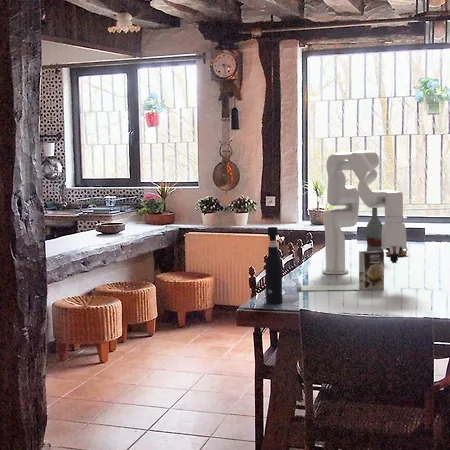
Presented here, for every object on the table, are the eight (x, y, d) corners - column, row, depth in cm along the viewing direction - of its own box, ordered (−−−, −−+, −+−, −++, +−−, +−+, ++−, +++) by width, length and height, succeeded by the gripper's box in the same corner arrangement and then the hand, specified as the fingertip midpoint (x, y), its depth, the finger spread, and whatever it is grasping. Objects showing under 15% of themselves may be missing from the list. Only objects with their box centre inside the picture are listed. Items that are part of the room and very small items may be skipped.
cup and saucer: (403, 254, 400) (403, 243, 399) (409, 257, 388) (409, 246, 387) (382, 254, 400) (382, 244, 399) (388, 257, 388) (388, 246, 387)
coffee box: (365, 290, 296) (365, 253, 294) (358, 288, 302) (358, 251, 300) (384, 288, 298) (384, 251, 297) (377, 286, 304) (377, 249, 303)
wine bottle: (281, 300, 280) (279, 226, 277) (283, 303, 274) (281, 228, 271) (265, 301, 280) (263, 226, 277) (266, 304, 274) (265, 228, 271)
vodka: (365, 263, 367) (365, 207, 364) (366, 261, 376) (365, 206, 373) (384, 264, 365) (383, 207, 362) (384, 261, 374) (383, 205, 371)
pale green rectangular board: (298, 287, 308) (297, 283, 308) (357, 286, 306) (357, 282, 305) (298, 291, 298) (298, 287, 298) (359, 290, 296) (359, 286, 295)
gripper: (410, 219, 299) (410, 261, 301) (374, 219, 301) (375, 261, 303) (413, 220, 292) (413, 263, 294) (377, 221, 293) (377, 264, 295)
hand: (394, 262), depth 298 cm, fingers closed
